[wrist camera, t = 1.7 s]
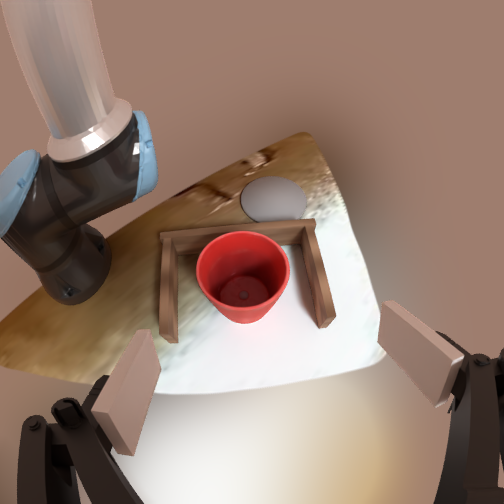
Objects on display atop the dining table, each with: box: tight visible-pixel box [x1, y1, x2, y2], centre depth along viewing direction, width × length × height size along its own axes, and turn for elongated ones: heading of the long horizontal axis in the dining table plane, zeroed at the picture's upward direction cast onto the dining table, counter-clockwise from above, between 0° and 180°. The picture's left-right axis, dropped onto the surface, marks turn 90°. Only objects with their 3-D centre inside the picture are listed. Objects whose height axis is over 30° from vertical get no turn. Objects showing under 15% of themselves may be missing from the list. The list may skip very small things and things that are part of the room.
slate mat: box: [241, 176, 307, 223], centre depth 50 cm, size 12×12×1 cm
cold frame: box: [159, 218, 336, 343], centre depth 39 cm, size 16×24×5 cm, turn 96°
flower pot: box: [196, 231, 290, 324], centre depth 36 cm, size 11×11×10 cm
